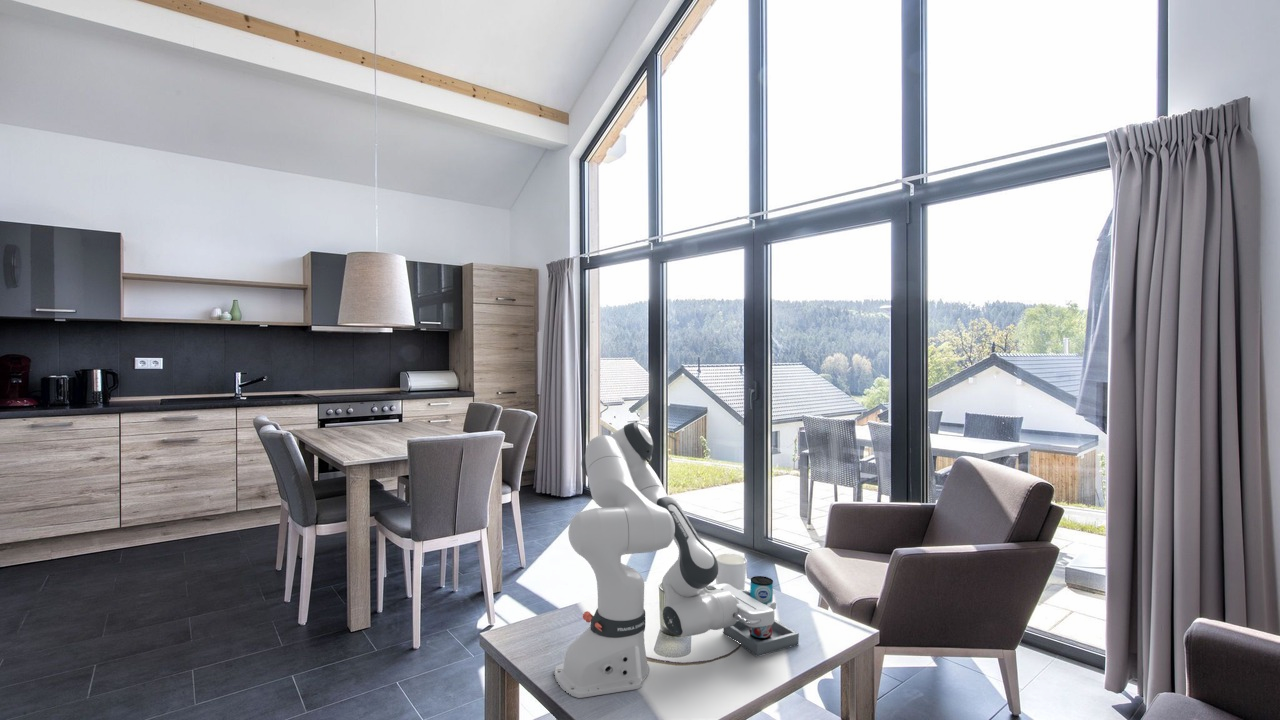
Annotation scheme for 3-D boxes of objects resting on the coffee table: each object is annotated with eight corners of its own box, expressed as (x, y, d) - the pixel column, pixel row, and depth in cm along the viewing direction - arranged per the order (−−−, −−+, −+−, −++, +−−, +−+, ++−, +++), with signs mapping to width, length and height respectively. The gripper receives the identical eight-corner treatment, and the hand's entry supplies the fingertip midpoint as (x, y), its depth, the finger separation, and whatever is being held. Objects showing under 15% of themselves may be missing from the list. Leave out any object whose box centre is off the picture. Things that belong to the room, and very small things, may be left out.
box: (757, 656, 154) (757, 644, 154) (723, 633, 166) (723, 622, 166) (798, 644, 161) (798, 633, 161) (763, 623, 173) (763, 612, 173)
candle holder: (752, 599, 189) (753, 561, 189) (728, 605, 184) (729, 566, 184) (731, 588, 198) (732, 551, 197) (707, 594, 192) (708, 556, 192)
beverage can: (750, 640, 161) (752, 583, 161) (747, 630, 167) (749, 575, 167) (773, 641, 161) (774, 584, 161) (769, 631, 167) (771, 576, 167)
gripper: (748, 612, 148) (791, 601, 155) (700, 583, 166) (740, 574, 172) (748, 638, 148) (790, 626, 155) (699, 606, 166) (739, 597, 172)
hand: (763, 599), depth 164 cm, fingers open, 7 cm apart
